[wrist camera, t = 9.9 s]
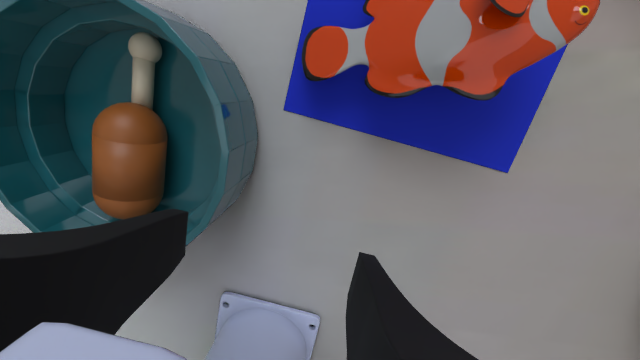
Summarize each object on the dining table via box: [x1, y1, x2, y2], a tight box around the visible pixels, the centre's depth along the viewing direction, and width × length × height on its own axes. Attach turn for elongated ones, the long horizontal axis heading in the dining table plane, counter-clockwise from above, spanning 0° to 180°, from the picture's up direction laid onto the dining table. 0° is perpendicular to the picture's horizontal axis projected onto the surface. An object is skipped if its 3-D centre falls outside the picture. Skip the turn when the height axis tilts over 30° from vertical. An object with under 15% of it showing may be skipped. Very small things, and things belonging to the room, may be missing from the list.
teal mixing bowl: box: [0, 0, 258, 246], centre depth 19 cm, size 15×15×6 cm
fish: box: [301, 0, 600, 101], centre depth 15 cm, size 13×5×8 cm
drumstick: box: [92, 32, 168, 219], centre depth 19 cm, size 12×4×4 cm, turn 168°
